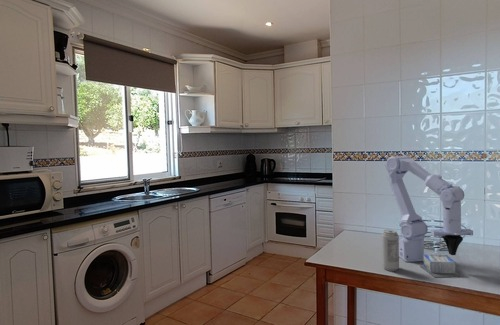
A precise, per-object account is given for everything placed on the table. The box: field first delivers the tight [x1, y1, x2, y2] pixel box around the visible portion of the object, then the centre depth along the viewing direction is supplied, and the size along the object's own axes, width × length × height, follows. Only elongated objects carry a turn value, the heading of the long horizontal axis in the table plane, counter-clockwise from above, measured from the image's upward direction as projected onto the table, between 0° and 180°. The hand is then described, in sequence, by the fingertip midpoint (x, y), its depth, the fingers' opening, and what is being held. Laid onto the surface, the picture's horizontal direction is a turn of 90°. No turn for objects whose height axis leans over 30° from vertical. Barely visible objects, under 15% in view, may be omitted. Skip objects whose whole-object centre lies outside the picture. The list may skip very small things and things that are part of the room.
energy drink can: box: [381, 229, 400, 272], centre depth 127 cm, size 6×6×15 cm
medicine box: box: [423, 254, 456, 273], centre depth 124 cm, size 8×4×9 cm
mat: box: [419, 264, 461, 279], centre depth 123 cm, size 9×11×1 cm
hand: (452, 254), depth 122 cm, fingers closed
